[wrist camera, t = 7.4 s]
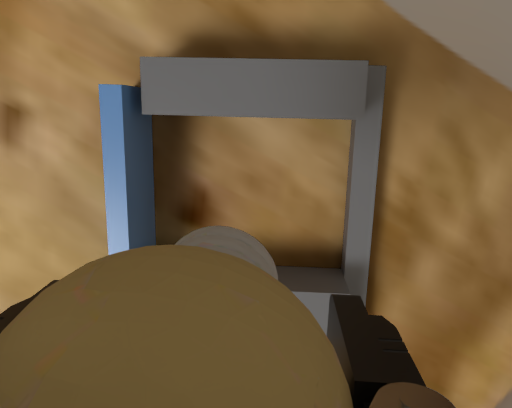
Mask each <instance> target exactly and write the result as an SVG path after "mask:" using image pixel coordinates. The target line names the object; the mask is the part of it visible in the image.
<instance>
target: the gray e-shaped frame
mask: <svg viewBox="0 0 512 408" xmlns="http://www.w3.org/2000/svg"><path fill="white" fill-rule="evenodd" d="M368 62H369V61H366V60H306V59H247V58H187V57H140V74H141V87H134V86H127V85H109V84H99V99H100V116H101V133H102V150H103V167H104V184H105V201H106V218H107V235H108V252H109V255H111V254H115V253H118V252H122V251H126V250H130V249H135V248H139V247H144V246H153V245H156V234H155V203H154V172H153V141H152V115H186V116H227V117H267V118H308V119H349V120H352V125H351V139H350V152H349V166H348V180H347V194H346V208H345V222H344V235H343V249H342V263H341V269H336V268H314V267H291V266H276V270H277V274H278V281H279V282H281V283H282V284H283V285H285V286H286V287H287V288H288V289H289V290H290V291H291V292H292V293H293V294H294V295H295V296H296V297H297V298H298V299H299V300H300V301H301V302H302V303H303V304H304V305H305V306H306V307H307V308H308V309H309V310H310V312H311V313H312V315H313V316H314V317H315V319H316V320H317V322H318V323H319V325H320V327H321V328H322V330H323V331H324V333H325V334H326V336H327V326H328V311H329V300H330V295H331V294H342V295H360V296H361V298H362V301H363V303H364V305H366V294H367V283H368V271H369V260H370V249H371V237H372V226H373V214H374V203H375V192H376V180H377V169H378V158H379V146H380V135H381V124H382V112H383V101H384V89H385V78H386V67H387V66H373V65H368Z"/></svg>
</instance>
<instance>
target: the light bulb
mask: <svg viewBox="0 0 512 408" xmlns="http://www.w3.org/2000/svg"><path fill="white" fill-rule="evenodd" d="M0 408H354V407H353V403H352V398H351V394H350V389H349V385H348V383H347V380H346V378H345V375H344V372H343V370H342V367H341V365H340V362H339V359H338V357H337V354H336V352H335V349H334V347H333V345H332V344H331V342H330V341H329V339H328V337H327V336H326V334H325V333H324V331H323V330H322V328H321V327H320V325H319V323H318V322H317V320H316V319H315V317H314V316H313V315H312V313H311V312H310V310H309V309H308V308H307V307H306V306H305V305H304V304H303V303H302V302H301V301H300V300H299V299H298V298H297V297H296V296H295V295H294V294H293V293H292V292H291V291H290V290H289V289H288V288H287V287H286V286H285V285H283V284H282V283H281V282H279V281H278V274H277V270H276V266H275V263H274V261H273V259H272V257H271V256H270V254H269V253H268V251H267V250H266V248H265V247H264V246H263V245H262V244H261V243H260V242H259V241H257V240H256V239H255V238H254V237H253V236H251V235H249V234H247V233H246V232H244V231H241V230H238V229H235V228H232V227H226V226H209V227H204V228H201V229H197V230H195V231H192V232H190V233H189V234H187V235H185V236H184V237H182V238H181V239H180V240H179V241H178V242H176V244H175V245H153V246H144V247H139V248H135V249H130V250H126V251H122V252H118V253H115V254H111V255H108V256H106V257H103V258H100V259H98V260H95V261H92V262H89V263H87V264H85V265H84V266H82V267H80V268H79V269H77V270H75V271H74V272H72V273H70V274H69V275H67V276H66V277H64V278H62V279H61V280H59V281H57V282H56V283H54V284H53V285H51V286H49V287H48V288H46V289H45V290H43V291H42V292H41V293H40V294H39V295H38V296H37V297H36V298H35V299H34V300H33V301H32V302H30V303H29V304H28V305H27V306H26V307H25V308H24V309H23V310H22V311H21V312H20V313H19V314H18V315H17V316H16V318H15V319H14V320H13V321H12V322H11V323H10V324H9V325H8V326H7V327H6V328H5V329H4V330H3V331H2V332H1V334H0Z"/></svg>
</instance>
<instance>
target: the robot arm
mask: <svg viewBox="0 0 512 408" xmlns="http://www.w3.org/2000/svg"><path fill="white" fill-rule="evenodd" d="M57 281H59V280H53V281H52V282H50V283H49V284H48V285H47V286H45V287H44V288H43V289H41V290H40V291H39V292H37V293H36V294H35V295H33V296H32V297H31V298H28V299H26V300H24V301H22V302H19V303H17V304H15V305H13V306H11V307H9V308H8V309H7V310H5V311H4V312H3V313H1V314H0V334H1V332H2V331H3V330H4V329H5V328H6V327H7V326H8V325H9V324H10V323H11V322H12V321H13V320H14V319H15V318H16V316H17V315H18V314H19V313H20V312H21V311H22V310H23V309H24V308H25V307H26V306H27V305H28V304H29V303H30V302H32V301H33V300H34V299H35V298H36V297H37V296H38V295H39V294H40V293H41V292H42V291H43V290H45V289H46V288H48V287H49V286H51V285H53V284H54V283H56V282H57ZM327 337H328V339H329V341H330V342H331V344H332V345H333V347H334V349H335V352H336V354H337V357H338V359H339V362H340V365H341V367H342V370H343V372H344V375H345V378H346V380H347V383H348V385H349V389H350V394H351V398H352V403H353V407H354V408H455V406H454V405H453V404H452V403H451V402H450V401H449V400H448V399H447V398H445V397H444V396H443V395H441V394H439V393H438V392H436V391H434V390H432V389H430V388H427V387H426V385H425V383H424V381H423V379H422V377H421V375H420V373H419V371H418V369H417V367H416V366H415V364H414V362H413V360H412V358H411V356H410V354H409V353H408V350H407V348H406V346H405V344H404V342H402V338H401V336H400V334H399V332H398V330H397V328H396V327H395V326H394V325H393V324H391V323H390V322H389V321H388V320H386V319H385V318H384V317H383V316H377V315H368V313H367V310H366V308H365V305H364V303H363V301H362V298H361V296H360V295H342V294H331V295H330V300H329V311H328V326H327Z"/></svg>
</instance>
